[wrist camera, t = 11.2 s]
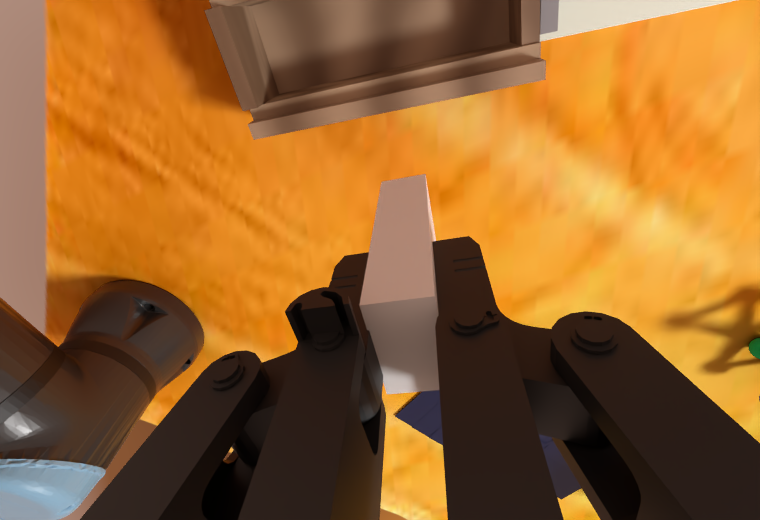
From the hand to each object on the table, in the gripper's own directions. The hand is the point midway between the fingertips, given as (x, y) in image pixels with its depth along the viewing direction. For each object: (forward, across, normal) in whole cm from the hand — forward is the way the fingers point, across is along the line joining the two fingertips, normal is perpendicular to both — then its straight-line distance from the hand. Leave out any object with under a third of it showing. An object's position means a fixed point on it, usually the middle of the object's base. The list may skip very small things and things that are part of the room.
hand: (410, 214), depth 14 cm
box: (+24, -2, +6) cm, 25 cm away
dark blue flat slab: (+25, +9, -46) cm, 53 cm away
